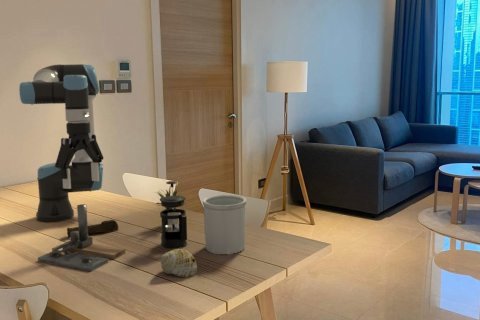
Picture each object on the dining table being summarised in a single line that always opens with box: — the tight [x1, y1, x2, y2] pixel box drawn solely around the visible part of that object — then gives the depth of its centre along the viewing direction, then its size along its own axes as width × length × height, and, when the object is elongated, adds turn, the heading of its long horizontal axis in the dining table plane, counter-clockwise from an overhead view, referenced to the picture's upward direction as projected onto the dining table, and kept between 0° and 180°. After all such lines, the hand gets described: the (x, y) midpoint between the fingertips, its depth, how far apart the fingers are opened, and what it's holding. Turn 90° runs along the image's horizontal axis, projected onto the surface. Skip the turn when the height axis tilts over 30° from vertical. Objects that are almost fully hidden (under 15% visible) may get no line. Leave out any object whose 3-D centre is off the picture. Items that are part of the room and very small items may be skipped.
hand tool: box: [66, 219, 119, 239], centre depth 186 cm, size 19×4×5 cm, turn 115°
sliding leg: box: [60, 203, 94, 255], centre depth 163 cm, size 13×3×14 cm, turn 156°
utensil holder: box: [202, 193, 247, 255], centre depth 168 cm, size 15×15×18 cm
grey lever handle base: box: [51, 231, 126, 260], centre depth 163 cm, size 14×22×6 cm, turn 66°
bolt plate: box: [37, 249, 109, 272], centre depth 158 cm, size 8×22×1 cm, turn 66°
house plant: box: [154, 185, 187, 224], centre depth 194 cm, size 14×14×16 cm
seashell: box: [160, 248, 198, 278], centre depth 148 cm, size 10×10×10 cm
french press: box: [159, 180, 188, 250], centre depth 171 cm, size 12×9×23 cm
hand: (81, 184), depth 165 cm, fingers open, 13 cm apart
